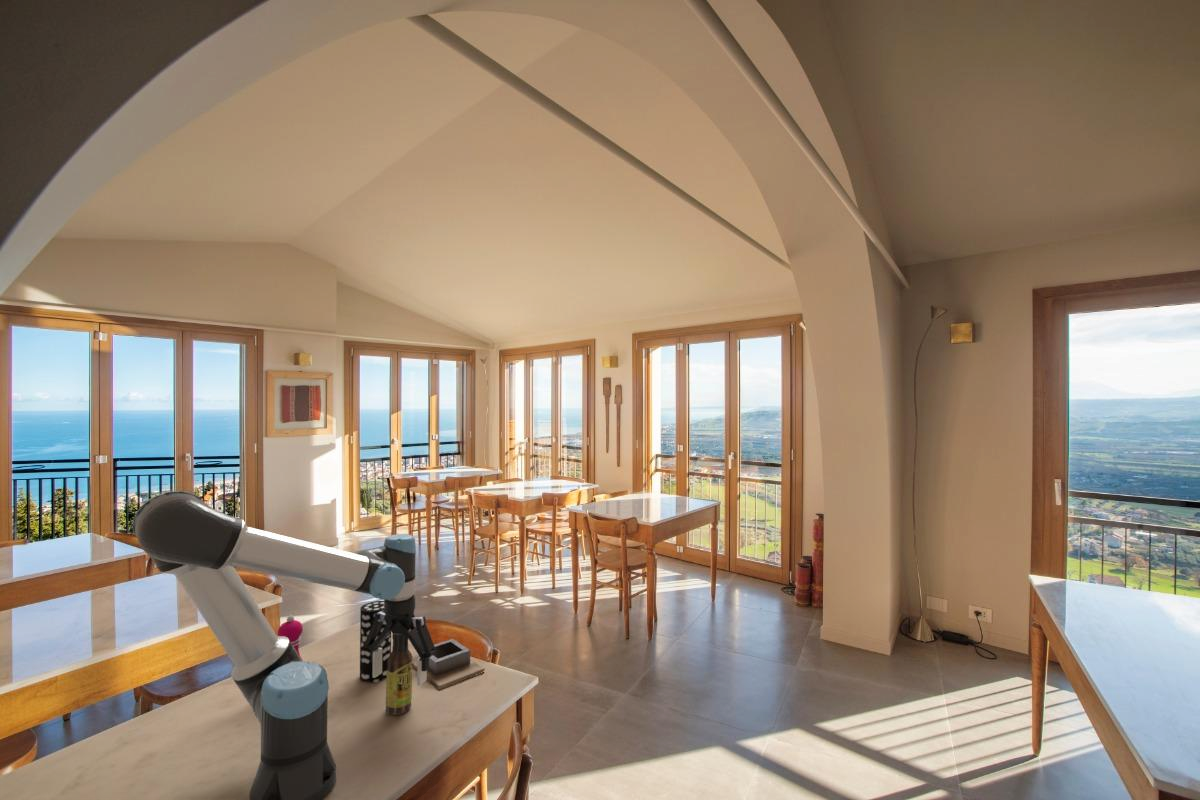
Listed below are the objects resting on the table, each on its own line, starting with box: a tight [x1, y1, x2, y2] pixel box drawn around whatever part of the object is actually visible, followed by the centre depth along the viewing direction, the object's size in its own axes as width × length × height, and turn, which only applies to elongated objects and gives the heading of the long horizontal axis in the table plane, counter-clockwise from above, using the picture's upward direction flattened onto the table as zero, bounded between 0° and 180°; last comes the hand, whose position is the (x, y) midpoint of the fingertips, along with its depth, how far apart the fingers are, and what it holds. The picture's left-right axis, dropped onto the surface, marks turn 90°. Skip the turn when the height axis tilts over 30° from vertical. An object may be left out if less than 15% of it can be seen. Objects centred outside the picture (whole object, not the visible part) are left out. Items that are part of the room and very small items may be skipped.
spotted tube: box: [359, 600, 392, 684], centre depth 152 cm, size 8×8×20 cm
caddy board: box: [412, 654, 485, 690], centre depth 156 cm, size 22×14×1 cm, turn 43°
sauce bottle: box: [385, 633, 413, 716], centre depth 134 cm, size 6×6×20 cm
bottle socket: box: [419, 638, 471, 677], centre depth 157 cm, size 11×11×4 cm
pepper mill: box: [277, 615, 304, 661], centre depth 145 cm, size 7×7×20 cm
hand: (399, 679), depth 134 cm, fingers open, 13 cm apart
